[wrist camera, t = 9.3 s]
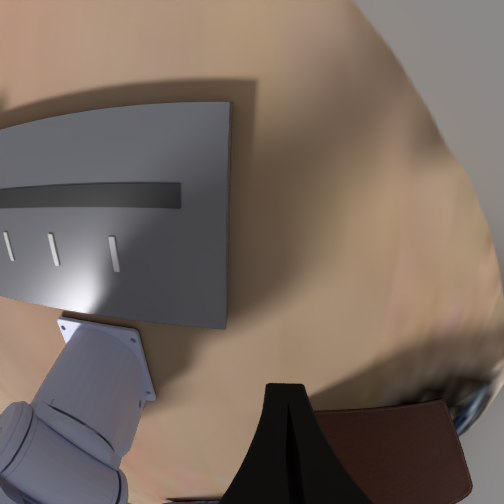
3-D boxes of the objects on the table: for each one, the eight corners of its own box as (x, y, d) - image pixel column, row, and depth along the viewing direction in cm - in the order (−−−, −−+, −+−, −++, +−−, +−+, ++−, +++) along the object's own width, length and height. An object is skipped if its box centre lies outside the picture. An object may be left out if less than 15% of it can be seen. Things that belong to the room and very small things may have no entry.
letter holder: (274, 408, 27) (275, 543, 14) (444, 395, 27) (481, 495, 14) (265, 450, 32) (263, 552, 19) (410, 438, 32) (431, 524, 19)
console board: (227, 315, 21) (225, 330, 20) (-38, 277, 22) (-46, 284, 20) (232, 102, 15) (229, 101, 14) (-66, 152, 15) (-77, 157, 14)
